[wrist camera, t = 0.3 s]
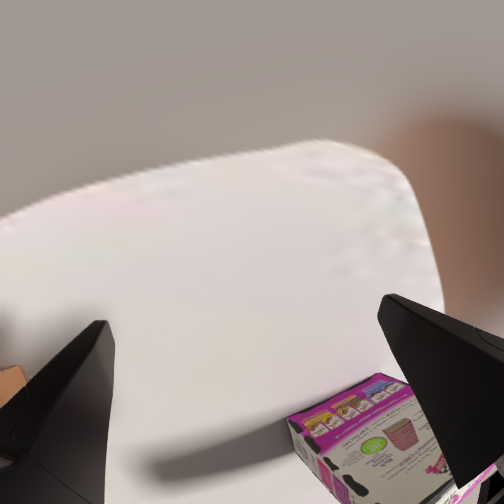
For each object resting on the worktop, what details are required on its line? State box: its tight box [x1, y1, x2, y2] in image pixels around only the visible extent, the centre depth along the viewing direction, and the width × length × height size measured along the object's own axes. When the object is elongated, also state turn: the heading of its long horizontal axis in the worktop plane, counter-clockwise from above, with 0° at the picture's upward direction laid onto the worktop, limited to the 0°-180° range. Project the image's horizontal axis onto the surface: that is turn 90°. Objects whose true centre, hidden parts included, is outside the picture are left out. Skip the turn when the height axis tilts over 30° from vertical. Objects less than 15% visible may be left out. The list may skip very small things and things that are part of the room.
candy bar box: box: [287, 373, 494, 504], centre depth 17 cm, size 11×5×16 cm, turn 105°
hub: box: [0, 365, 27, 408], centre depth 15 cm, size 6×6×5 cm
